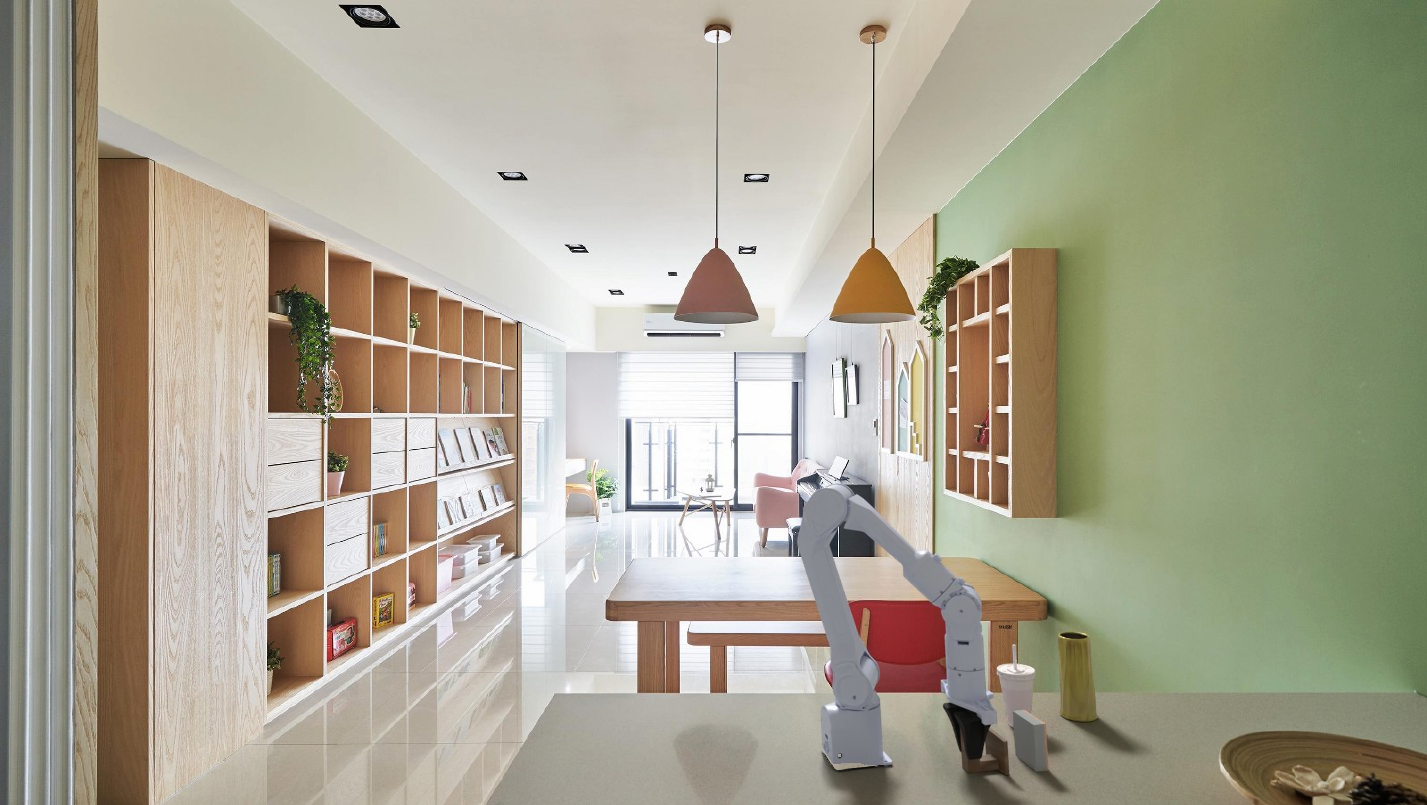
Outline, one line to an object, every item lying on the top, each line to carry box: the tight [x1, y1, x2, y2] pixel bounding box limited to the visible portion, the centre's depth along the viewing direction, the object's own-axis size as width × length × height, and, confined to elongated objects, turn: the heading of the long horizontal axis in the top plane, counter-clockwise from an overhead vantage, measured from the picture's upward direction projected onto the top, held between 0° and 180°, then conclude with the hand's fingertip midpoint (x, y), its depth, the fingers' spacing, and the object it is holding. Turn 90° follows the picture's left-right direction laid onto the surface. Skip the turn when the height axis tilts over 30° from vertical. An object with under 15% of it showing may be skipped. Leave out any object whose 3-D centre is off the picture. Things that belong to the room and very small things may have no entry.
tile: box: [1013, 710, 1049, 773], centre depth 119 cm, size 2×6×7 cm, turn 8°
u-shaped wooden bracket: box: [960, 727, 1010, 776], centre depth 118 cm, size 6×6×6 cm
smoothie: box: [996, 644, 1037, 729], centre depth 134 cm, size 6×6×14 cm
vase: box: [1057, 631, 1099, 723], centre depth 136 cm, size 6×6×14 cm
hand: (970, 754), depth 117 cm, fingers closed on u-shaped wooden bracket
